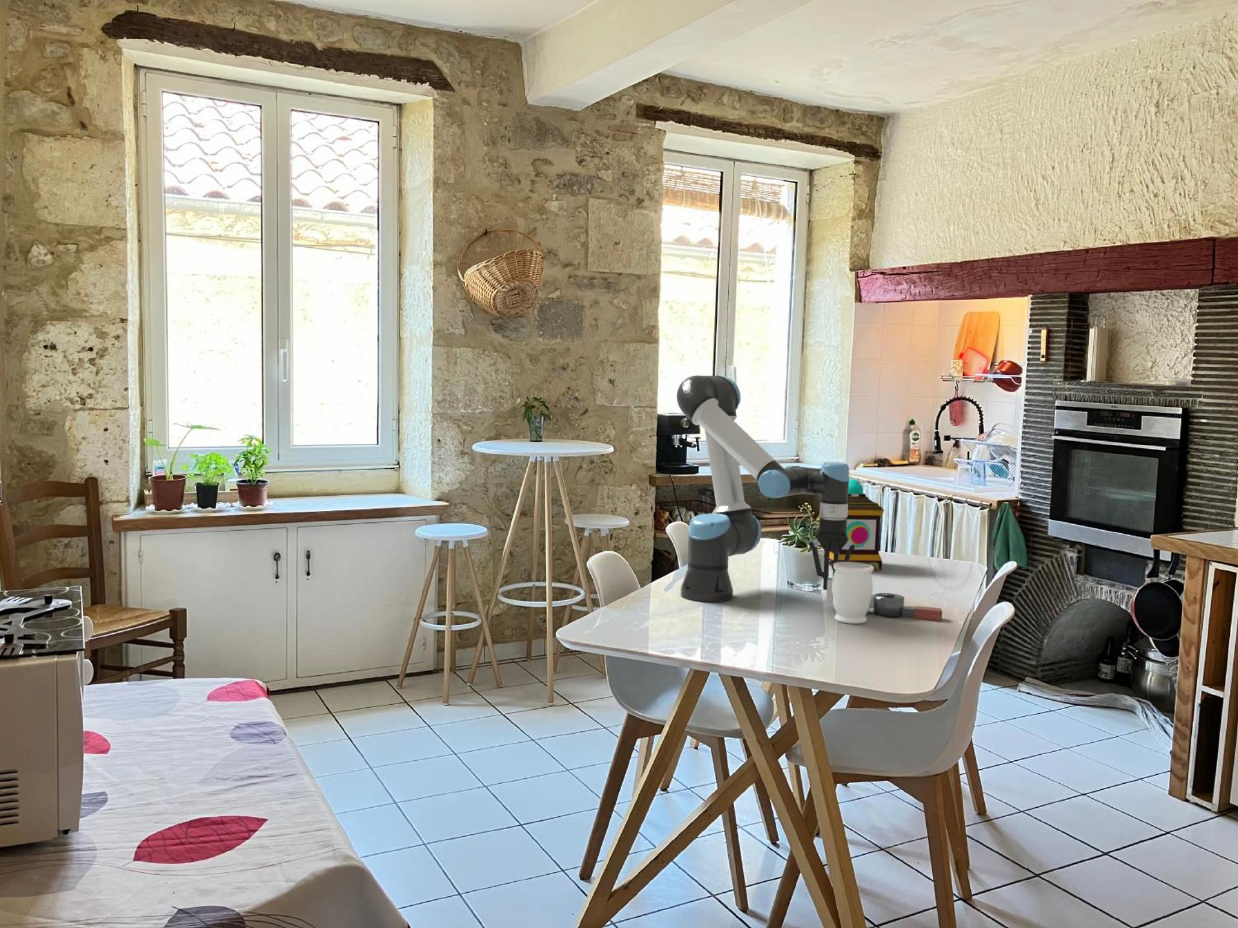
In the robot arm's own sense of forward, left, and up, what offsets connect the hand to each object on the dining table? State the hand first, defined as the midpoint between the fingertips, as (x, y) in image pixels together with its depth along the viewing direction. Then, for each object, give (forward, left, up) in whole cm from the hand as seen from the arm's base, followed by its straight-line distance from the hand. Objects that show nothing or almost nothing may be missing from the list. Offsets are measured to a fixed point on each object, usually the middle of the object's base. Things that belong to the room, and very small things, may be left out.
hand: (829, 601), depth 276 cm
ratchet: (+19, 0, -2) cm, 19 cm away
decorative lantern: (0, +66, -2) cm, 66 cm away
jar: (+7, -11, -2) cm, 13 cm away
